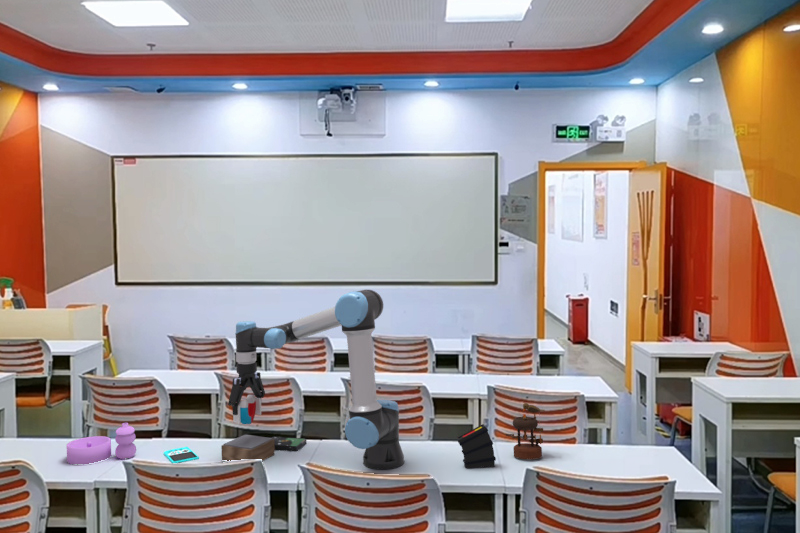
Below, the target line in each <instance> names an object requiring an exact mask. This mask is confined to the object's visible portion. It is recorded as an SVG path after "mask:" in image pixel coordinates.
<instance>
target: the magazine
mask: <svg viewBox="0 0 800 533" xmlns="http://www.w3.org/2000/svg"><path fill="white" fill-rule="evenodd" d="M457 443H458V444H459V446H460V447H461V453H462V454H463V459H462V462H463V465H464V467H465V469H481V468H495V466H496V465H495V464H496V463H495V461H496V460H497V458H496V456H495V450H494V447H493V445H494V442H493V441H492V439H491V436H490V433H489V430H488V428H487V426H485V425H484V424H483V423H482V424H479V425H478V426H477V427H474V428H472V429H471V430H469V431H466V432H465V433H463V434H461V435H459V436H457Z"/></svg>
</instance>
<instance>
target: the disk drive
mask: <svg viewBox="0 0 800 533" xmlns="http://www.w3.org/2000/svg"><path fill="white" fill-rule="evenodd" d="M271 438H273V439H274V445H275V451H279V450H280V451H281V452H294V453H296V452H298V451H300V450H301V449H302V448H303V447H305V446H306V445H307V441H308V440H307V439H306V438H302V437H287V436H286V437H285V436H272V437H271Z"/></svg>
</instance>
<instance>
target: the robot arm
mask: <svg viewBox="0 0 800 533" xmlns="http://www.w3.org/2000/svg"><path fill="white" fill-rule="evenodd" d="M383 311H384V300H383V298H382V297H381V295H380V294H379V293H378V292H376V291H375V290H373V289H362V290H361V289H360V290H357V291H356V290H355V291H354V290H353V291H349V292H347V293H344V294H342V296H340V297H339V299H338V300H337V301H336V303H335V306H333V307H330V308H328V309H324V310H321V311H319V312H315V313H312V314H310V315H307V316H305V317H301V318H299V319H296V320H293V321H290V322H287V323H284V324H281V325H275V326H271V327H257V323H256V321H251V320H246V321H244V320H243V321H238V322H237V323H236V324H235V346H236V348H235V349H236V350H235V362H236V364H235V365H236V366H235V367H236V369H235V370H236V374H238V377H236V378H232V384H231V385H232V386H231V390H230V395H229V399H228V402H227V403H228V404H227V405H228V406H231V407H232V415H233V416H232V418H233V421H232V422H233V424H239V425H240V424H242V423H241V420H240V406H239V403H240V401H242V397H243V395H244V392H245V391H246V389H247V388H250V389H251V391H252V393H253V395H255V399H256V411H255V415H256V416H261V415H262V398H264V396H265V395H266V391H265V389H264V385H263V381H262V379H261V376H262V375H261V372H259V371H258V370H257V369H258V367H257V365H258V364H257V362H256V361H257V348H259V349H262V348H263V349H271V350H275V349H277V350H278V349H282V348H283V346H285V345H286V344H291V343H294V342H296V341H299V340H301V339H305V338H307V337H311V336H314V335H316V334H320V333H323V332H327V331H329V330H331V329H332V330H333V329H334V328H335V329H336V328H338V327H341V333H343V334H344V335H346V340H347V352H348V366H349V367H348V368H349V378H350V388H351V391H350V392H351V401H352V402H351V403H352V404H351V405H350V407H349V408H348V420H347V422H346V424H345V426H344V435H345V437H346V440H347V441H348V442H349V444H351V445H352V446H353V447H355V448H356V449H360V450H364V454H363V457H362V461H363V462H362V464H363V465H364V467H367V468H369V469H374V470H390V469H391V470H392V469H396V468H399V467H401V466H402V465H404V463H405V460H404V459H405V455H404V453H403V450H402V446H401V444H400V437H399V436H400V421H399V420H400V414H399V413H400V409H399V404H398V402H396V401H395V400H389V399H377V398H378V397H377V387H376V386H377V385H376V375H375V363H374V362H375V361H374V350H373V339H372V338H373V337H372V333H373V332H374V330H376V322H375V320H377V319H379V317H380V316H382V313H383ZM257 371H258V372H257Z"/></svg>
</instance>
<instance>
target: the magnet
mask: <svg viewBox="0 0 800 533" xmlns="http://www.w3.org/2000/svg"><path fill="white" fill-rule="evenodd" d="M255 398H256V396H255V395H254V394H247V397H246V400H240V403H239V405H238V406H240V420H241V423H240V424H242V425H250V424H252V423H253V421H254V419H255V411H256V399H255Z"/></svg>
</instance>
